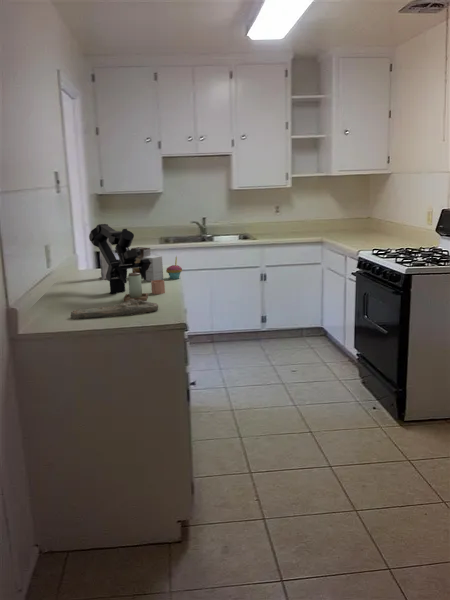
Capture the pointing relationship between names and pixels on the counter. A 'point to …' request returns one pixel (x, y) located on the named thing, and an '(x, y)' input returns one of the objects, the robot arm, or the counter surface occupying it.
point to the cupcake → (174, 270)
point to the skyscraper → (104, 264)
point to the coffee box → (141, 257)
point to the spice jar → (135, 285)
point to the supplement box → (154, 268)
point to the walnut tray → (144, 298)
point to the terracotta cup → (158, 286)
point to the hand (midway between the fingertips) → (135, 281)
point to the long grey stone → (116, 309)
